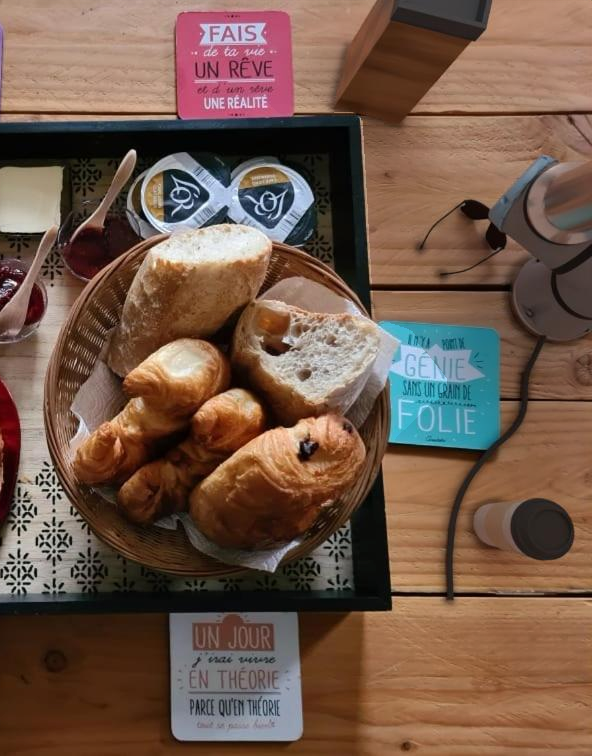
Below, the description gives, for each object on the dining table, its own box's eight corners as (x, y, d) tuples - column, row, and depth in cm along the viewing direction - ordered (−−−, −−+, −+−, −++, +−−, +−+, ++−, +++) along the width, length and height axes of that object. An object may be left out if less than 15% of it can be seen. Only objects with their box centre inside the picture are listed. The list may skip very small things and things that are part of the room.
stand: (399, 124, 130) (473, 39, 105) (333, 107, 130) (391, 18, 105) (413, 64, 131) (489, -34, 107) (348, 47, 132) (409, -54, 107)
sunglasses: (503, 248, 126) (517, 240, 121) (445, 288, 127) (457, 282, 122) (464, 200, 128) (477, 190, 123) (407, 240, 128) (417, 232, 123)
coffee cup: (485, 562, 119) (542, 573, 104) (455, 512, 120) (508, 516, 105) (532, 536, 119) (595, 543, 105) (502, 487, 121) (561, 487, 106)
